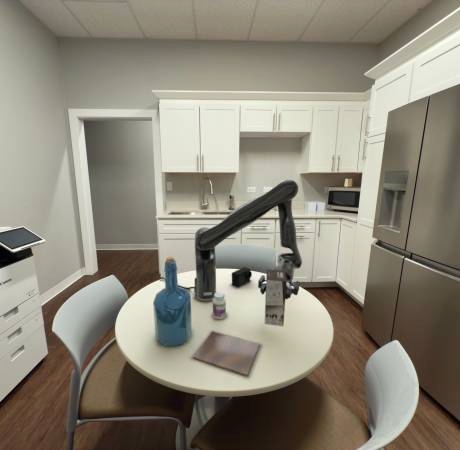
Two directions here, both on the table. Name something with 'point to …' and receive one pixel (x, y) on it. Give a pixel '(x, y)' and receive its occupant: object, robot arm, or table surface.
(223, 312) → the pill bottle
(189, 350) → the table surface
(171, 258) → the wine bottle
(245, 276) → the digital camera
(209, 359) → the wooden board
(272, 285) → the coffee box
